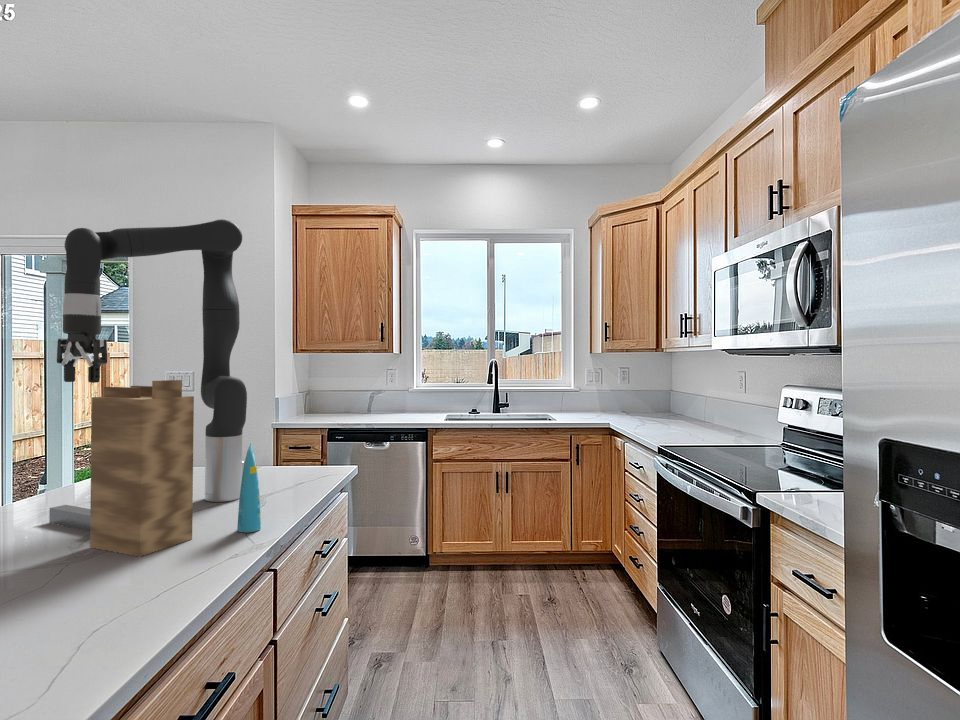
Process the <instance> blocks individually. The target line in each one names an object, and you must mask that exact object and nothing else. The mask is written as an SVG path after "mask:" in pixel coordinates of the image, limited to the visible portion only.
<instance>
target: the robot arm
mask: <svg viewBox="0 0 960 720" xmlns="http://www.w3.org/2000/svg"><path fill="white" fill-rule="evenodd" d="M242 242H243V233H242V230H241V229H240V228H239V226H238V225H237V224H236V223H234V222H232V221H231V220H228V219H223V218H222V219H215V220H213V221H212V220H211V221H208V222H204V223H203V222H202V223H199V224H198V223H197V224H190V225H189V224H188V225H179V226H159V227H158V226H157V227H152V226H151V227H127V228H125V227H122V228H116V229H113V230H110V231H97V232H96V231H93V230H92V229H89V228H86V227H78V228H74V229H73V230H71V231H70V232H69V233H67V235H66V237H65V240H64V250H65V253H66V254H65V257H66V259H65V260H66V263H65V264H66V270H65V275H64V297H63V303H62V333H64V334H66V335H67V338H58V339H57V347H56V348H57V349H56V363H57V364H61V366H62V367H63V382H65V383H74V382H75V381H76V363H77V361H78V360H80V359H81V358H82V359H84V360H85V361H86V362H87V364H88V370H87V374H88V375H87V377H88V378H87V381H88V382H89V383H91V384H94V383H95V384H96V383H99V382H100V378H101V367H102V366H103V365H106V364H107V363H108V340H107V339H106V338H105V337H103V338H101V337H99V338H98V337H97V335H100V334H101V332H102V302H101V279H100V278H101V275H100V271H101V264H102V260H103V261H104V260H109V259H115V258H135V257H138V258H139V257H149V256H158V255H164V254H171V253H177V252H178V253H179V252H183V251H201V257H202V266H203V285H202V309H201V311H202V331H203V333H202V335H203V338H202V344H203V345H202V347H203V348H202V349H203V357H202V358H203V360H202V362H203V363H202V371H201V383H200V397H201V400H202V402H203V404H204V405H205V406H206V407H208V408H209V409H213V414H212V419H211V421H210V422H209V423H208V424H207V425H206V426H205V432H204V433H205V437H204V438H205V441H204V442H205V443H204V444H205V446H204V447H205V448H204V449H205V450H204V451H205V452H204V453H205V454H204V457H205V458H204V459H205V460H204V501H207V502H211V503H212V502H215V503H216V502H217V503H218V502H219V503H220V502H223V503H224V502H231V501H235V500H239V499H240V489H241V481H242V475H243V469H244V463H245V460H243V429H244V427H245V424H246V420H247V419H246V418H247V405H248V402H247V401H248V392H247V387H246V385H245V383H244V381H242V380H241V378H239V377H236V376H231V374H230V373H231V371H230V370H231V369H230V367H231V366H230V361H231V354H232V351H233V348H234V346H235V343H236V340H237V338H238V336H239V330H240V302H239V297H238V294H237V290H236V286H235V284H234V283H235V282H234V278H233V260H234V259H233V257H234V256H233V255H234V252H236V251H238V249H239V248H240V247H241V244H242ZM100 357H101V358H100Z"/></svg>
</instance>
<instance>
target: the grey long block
mask: <svg viewBox="0 0 960 720" xmlns="http://www.w3.org/2000/svg"><path fill="white" fill-rule="evenodd" d="M48 518H49V519H48V520H49V521H48V522H49V524H52V523H54V524H53V525H56V524H59V525H58V526H61V525H63V527H66V526H68V527H67V528H71V527H73V528H72V529H76V528H77V529H76V530H80V529H81V530H82V531H85V530H86V531H85V532H90V508H86V507H81V506H74V505H69V504H62V505H57V506H52V507H49V516H48Z"/></svg>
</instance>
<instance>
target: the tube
mask: <svg viewBox="0 0 960 720" xmlns="http://www.w3.org/2000/svg"><path fill="white" fill-rule="evenodd" d="M246 451H247V452H246V456H245V459H244V462H245V463H244V469H243V475H242V481H241V489H240V498H239V499H238V500H239V501H238V511H237V525H236V526H237V527H236V528H237V529H236V530H237V531H238V533H254V532H259V530H261V529H262V527H261V525H262V521H261V519H262V517H261V501H260V500H261V497H260V486H259V485H260V484H259V476H258V475H259V474H258V470H257V469H258V468H257V463H256V458H255V452H254V447H253V442H252V441H250V444H249V446H248V447H247V450H246Z"/></svg>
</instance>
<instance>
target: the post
mask: <svg viewBox="0 0 960 720" xmlns="http://www.w3.org/2000/svg"><path fill="white" fill-rule="evenodd" d="M151 382H152V385H130V386H127V387H126V386H125V387H124V386H103V396H94V397H91V422H90V423H91V425H90V427H91V430H90V431H91V435H90V436H91V440H90V444H91V445H90V508H89V509H90V531H89V532H90V533H89V548H91V549H95V548H96V550H100V549H101V550H102V551H106V550H108V551H107V552H111V551H113V552H112V553H117V552H119V553H118V554H122V553H124V554H123V555H127V554H129V555H128V556H133V555H134V557H138V556H141V557H143V555H144V556H147V555H149V554H148V553H150V554H152V553H151V552H153V553H155V551H156V552H158V550H159V551H162V550H165V549H167V547H168V548H171V547H173V546H176V544H177V545H178V544H182V543H185V542H188V541H191V540H193V513H194V512H193V509H194V508H193V507H194V506H193V504H194V503H193V501H194V500H193V498H194V497H193V495H194V493H193V491H194V420H195V419H194V418H195V417H194V415H195V414H194V413H195V412H194V409H195V406H194V404H195V396H192V395H191V396H189V395H183V379H170V380H169V379H168V380H163V379H162V380H152V381H151ZM170 546H171V547H170ZM164 548H165V549H164ZM161 549H162V550H161ZM146 554H147V555H146Z"/></svg>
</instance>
